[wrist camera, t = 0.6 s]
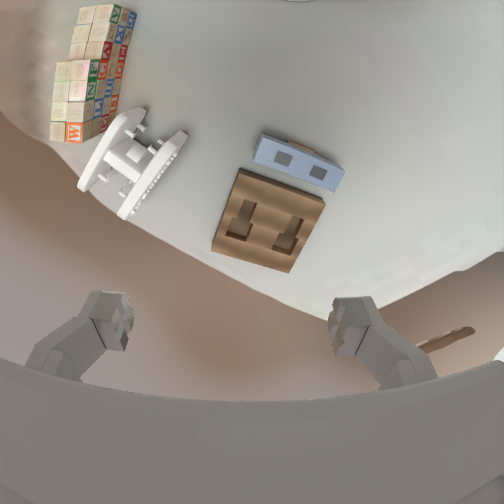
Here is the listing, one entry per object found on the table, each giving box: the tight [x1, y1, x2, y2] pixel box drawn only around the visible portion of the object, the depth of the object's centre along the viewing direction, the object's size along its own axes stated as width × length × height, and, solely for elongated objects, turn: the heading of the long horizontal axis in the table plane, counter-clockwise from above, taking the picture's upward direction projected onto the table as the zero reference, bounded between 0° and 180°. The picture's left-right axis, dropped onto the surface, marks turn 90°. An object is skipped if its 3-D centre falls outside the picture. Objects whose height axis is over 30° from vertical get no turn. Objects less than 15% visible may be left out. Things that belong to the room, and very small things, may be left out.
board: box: [211, 168, 325, 273], centre depth 53 cm, size 16×16×3 cm
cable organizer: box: [77, 107, 188, 220], centre depth 41 cm, size 15×11×12 cm
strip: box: [253, 134, 345, 192], centre depth 44 cm, size 4×14×5 cm, turn 70°
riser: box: [286, 139, 315, 154], centre depth 46 cm, size 4×5×2 cm
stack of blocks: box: [50, 4, 136, 143], centre depth 32 cm, size 21×6×12 cm, turn 166°
